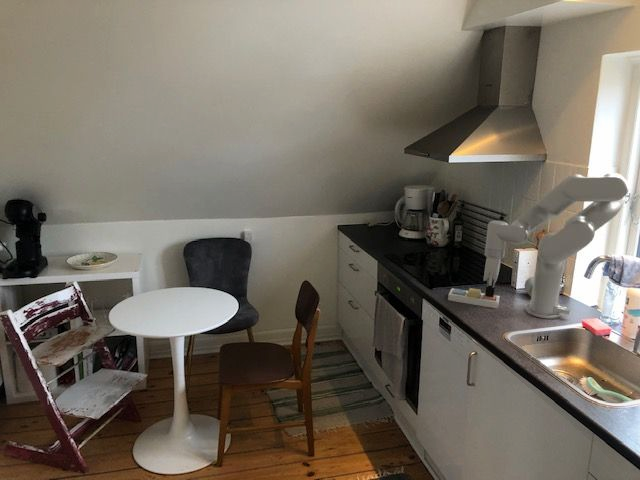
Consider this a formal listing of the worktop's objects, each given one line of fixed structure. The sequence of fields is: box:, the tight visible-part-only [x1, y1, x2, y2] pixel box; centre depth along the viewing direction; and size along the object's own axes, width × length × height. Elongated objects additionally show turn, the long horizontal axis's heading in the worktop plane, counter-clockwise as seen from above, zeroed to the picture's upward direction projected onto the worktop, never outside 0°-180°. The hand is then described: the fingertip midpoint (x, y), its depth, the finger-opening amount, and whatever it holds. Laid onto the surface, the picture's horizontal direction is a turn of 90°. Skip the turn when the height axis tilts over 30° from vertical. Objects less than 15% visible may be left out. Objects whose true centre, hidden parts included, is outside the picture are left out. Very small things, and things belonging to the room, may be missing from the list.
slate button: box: [453, 288, 467, 296], centre depth 209 cm, size 4×4×3 cm
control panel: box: [447, 287, 501, 309], centre depth 207 cm, size 19×8×2 cm, turn 67°
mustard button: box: [467, 287, 482, 298], centre depth 206 cm, size 4×4×3 cm
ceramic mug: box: [524, 276, 534, 297], centre depth 213 cm, size 11×8×8 cm
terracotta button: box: [483, 293, 496, 301], centre depth 204 cm, size 4×4×3 cm
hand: (489, 295), depth 204 cm, fingers closed
